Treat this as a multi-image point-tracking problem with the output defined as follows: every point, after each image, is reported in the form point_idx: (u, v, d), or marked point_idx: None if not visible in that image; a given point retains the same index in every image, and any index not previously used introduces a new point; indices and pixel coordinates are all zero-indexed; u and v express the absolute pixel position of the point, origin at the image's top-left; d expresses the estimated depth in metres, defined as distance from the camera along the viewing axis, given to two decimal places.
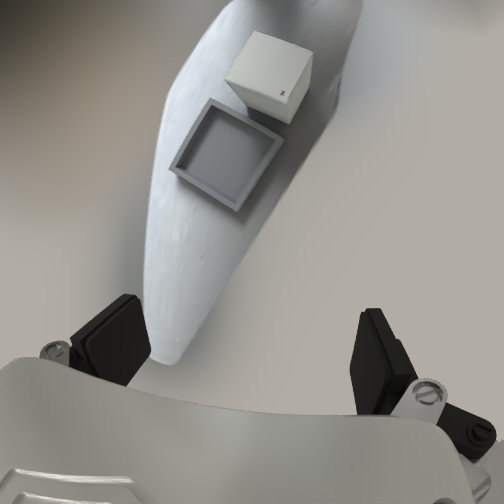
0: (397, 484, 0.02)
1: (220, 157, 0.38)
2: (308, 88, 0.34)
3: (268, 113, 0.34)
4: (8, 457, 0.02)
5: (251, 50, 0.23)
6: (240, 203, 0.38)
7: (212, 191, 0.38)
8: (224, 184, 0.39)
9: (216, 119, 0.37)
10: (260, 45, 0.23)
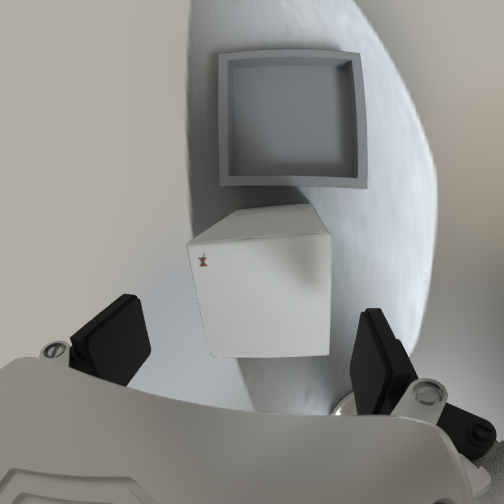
0: (397, 484, 0.02)
1: (298, 108, 0.21)
2: None
3: (264, 209, 0.23)
4: (8, 457, 0.02)
5: (311, 318, 0.14)
6: (220, 66, 0.19)
7: (270, 55, 0.18)
8: (267, 77, 0.21)
9: (341, 160, 0.22)
10: (299, 332, 0.14)
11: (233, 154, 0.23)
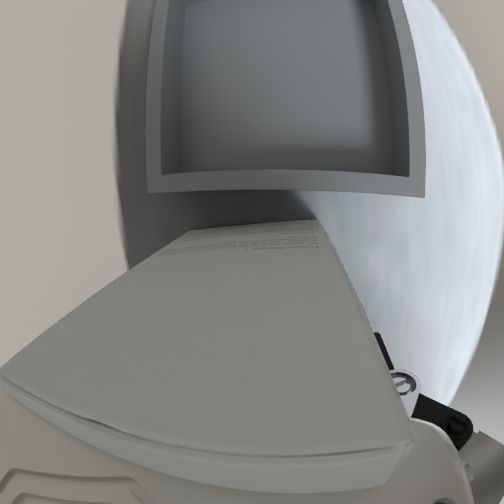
0: (397, 484, 0.02)
1: (292, 52, 0.11)
2: None
3: (230, 234, 0.12)
4: (8, 457, 0.02)
5: None
6: None
7: None
8: (239, 10, 0.10)
9: (372, 143, 0.11)
10: None
11: (179, 135, 0.13)
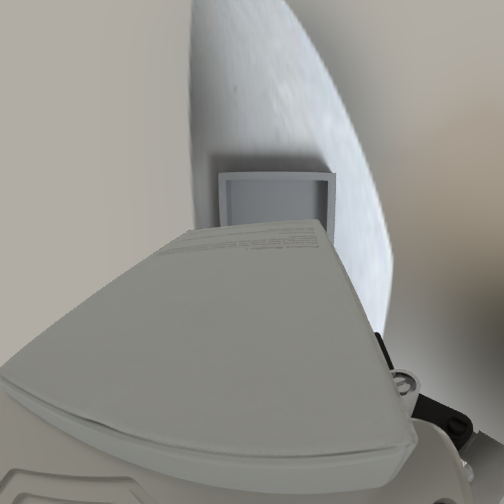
0: (397, 484, 0.02)
1: (282, 217, 0.30)
2: None
3: (229, 234, 0.12)
4: (8, 457, 0.02)
5: None
6: (220, 185, 0.28)
7: (261, 177, 0.27)
8: (258, 189, 0.30)
9: None
10: None
11: None
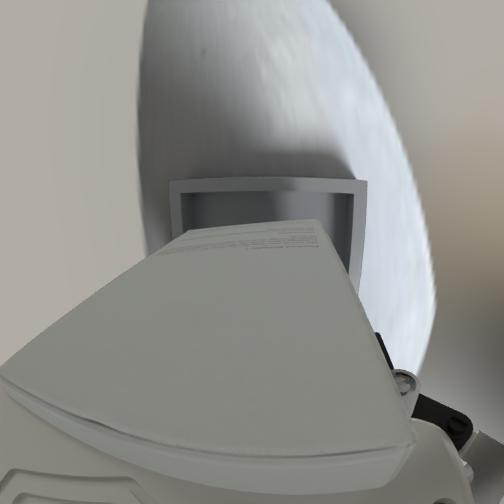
0: (397, 484, 0.02)
1: None
2: None
3: (229, 234, 0.12)
4: (8, 457, 0.02)
5: None
6: (172, 201, 0.17)
7: (237, 188, 0.16)
8: (236, 206, 0.18)
9: None
10: None
11: None
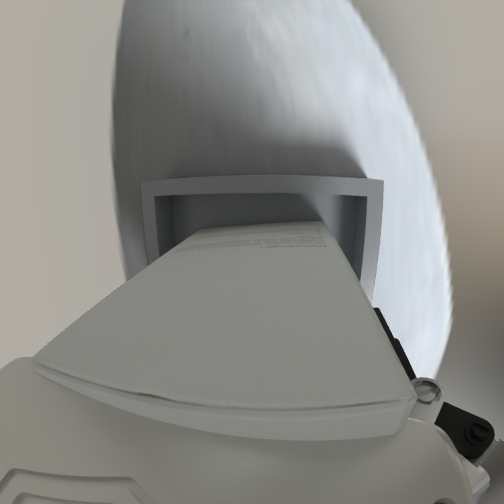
0: (397, 484, 0.02)
1: None
2: None
3: (242, 233, 0.13)
4: (8, 457, 0.02)
5: None
6: (144, 206, 0.14)
7: (222, 189, 0.13)
8: (223, 211, 0.15)
9: None
10: None
11: None
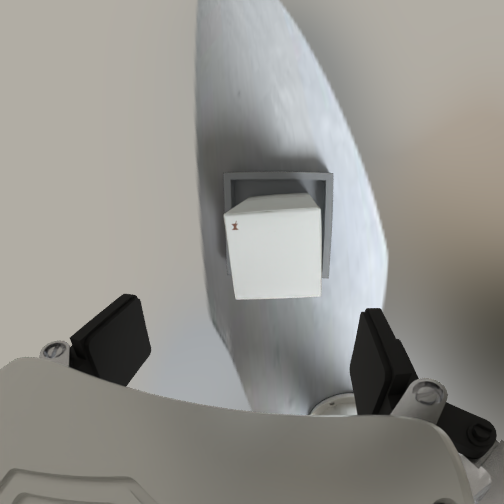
0: (397, 484, 0.02)
1: None
2: None
3: (272, 196, 0.29)
4: (8, 457, 0.02)
5: (308, 266, 0.21)
6: (225, 184, 0.30)
7: (263, 177, 0.29)
8: (261, 188, 0.32)
9: None
10: (299, 277, 0.21)
11: None
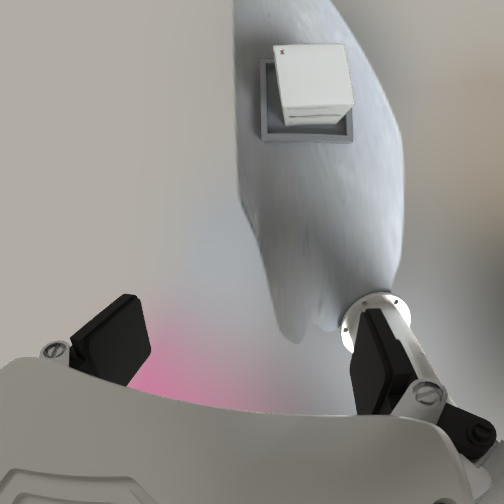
0: (397, 484, 0.02)
1: None
2: None
3: None
4: (8, 457, 0.02)
5: (341, 79, 0.21)
6: (261, 66, 0.31)
7: None
8: None
9: (336, 126, 0.34)
10: (335, 87, 0.21)
11: (268, 121, 0.35)
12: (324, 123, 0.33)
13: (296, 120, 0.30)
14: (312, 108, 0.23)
